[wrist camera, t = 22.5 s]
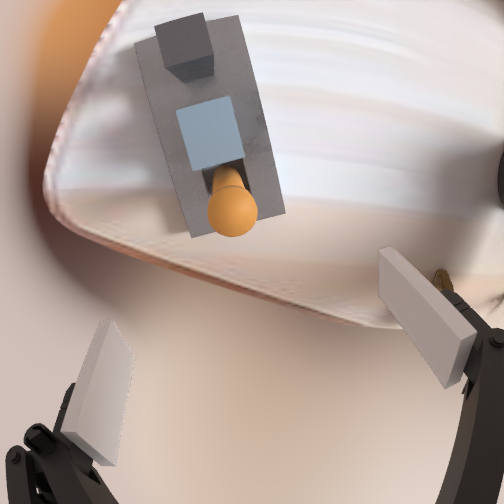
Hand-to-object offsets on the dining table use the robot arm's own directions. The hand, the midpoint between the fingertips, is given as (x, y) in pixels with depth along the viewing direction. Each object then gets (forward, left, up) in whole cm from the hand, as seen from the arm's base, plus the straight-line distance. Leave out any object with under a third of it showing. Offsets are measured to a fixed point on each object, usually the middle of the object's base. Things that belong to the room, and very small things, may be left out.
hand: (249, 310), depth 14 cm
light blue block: (-3, -6, -24) cm, 25 cm away
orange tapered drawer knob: (0, 0, -27) cm, 27 cm away
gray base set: (-4, -6, -27) cm, 28 cm away
